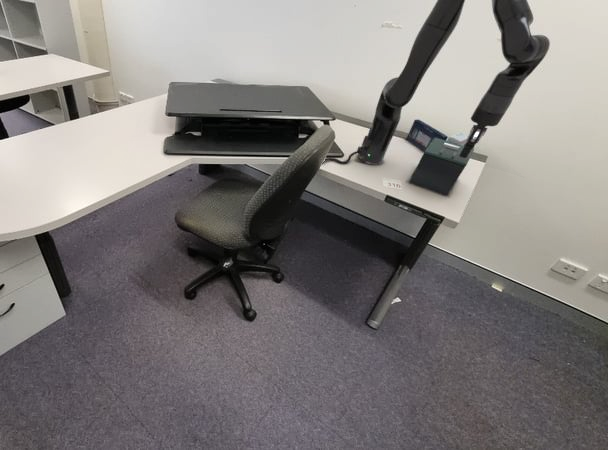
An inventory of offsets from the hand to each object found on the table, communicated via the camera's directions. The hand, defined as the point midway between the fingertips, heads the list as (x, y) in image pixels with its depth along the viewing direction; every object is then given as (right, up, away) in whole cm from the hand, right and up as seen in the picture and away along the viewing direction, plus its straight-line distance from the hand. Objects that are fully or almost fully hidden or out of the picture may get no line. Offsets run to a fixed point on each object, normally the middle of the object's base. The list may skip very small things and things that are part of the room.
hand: (462, 156), depth 114 cm
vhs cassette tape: (+10, +12, +38) cm, 41 cm away
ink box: (+15, +4, +29) cm, 33 cm away
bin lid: (+1, +3, +8) cm, 8 cm away
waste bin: (+1, -6, +17) cm, 18 cm away
